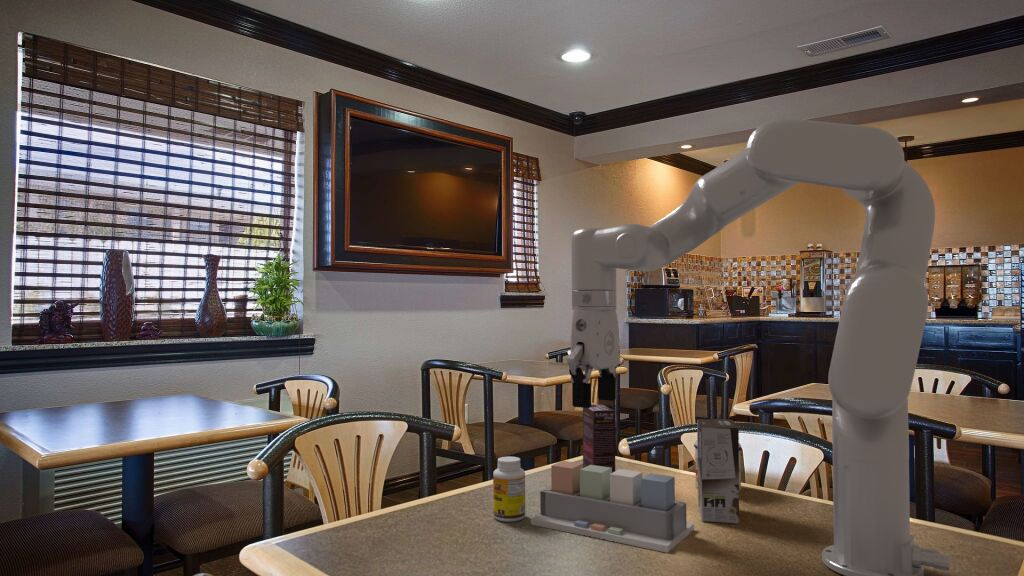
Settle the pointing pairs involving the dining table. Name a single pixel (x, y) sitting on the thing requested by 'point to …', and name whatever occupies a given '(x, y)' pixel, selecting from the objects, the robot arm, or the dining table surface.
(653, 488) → the blue-grey block
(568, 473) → the pink block
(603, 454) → the supplement box
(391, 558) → the dining table surface
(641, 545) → the grey block holder
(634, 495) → the key
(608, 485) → the key
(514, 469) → the supplement bottle
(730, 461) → the coffee box
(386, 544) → the dining table surface
